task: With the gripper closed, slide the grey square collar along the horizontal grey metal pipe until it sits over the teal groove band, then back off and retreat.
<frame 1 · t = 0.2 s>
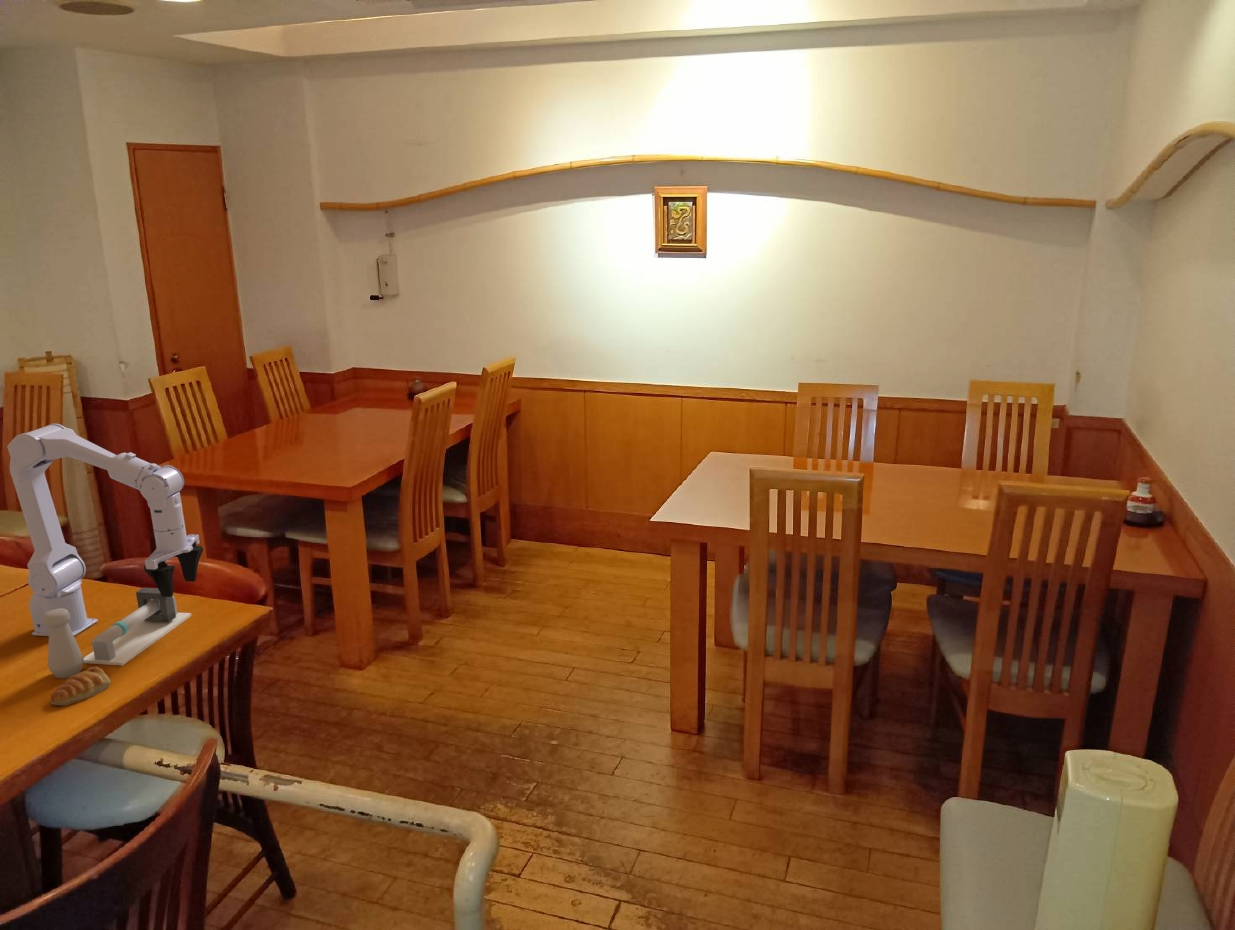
hand: (179, 588, 180), 10 cm above the table, tool pointing down, fingers open, 7 cm apart
pipe rail: (139, 637, 181), on the table
salt shaker: (68, 674, 167), on the table
pastry: (83, 694, 160), on the table
grey square collar: (156, 604, 186), point 4 cm above the table, slide at 0.0 cm
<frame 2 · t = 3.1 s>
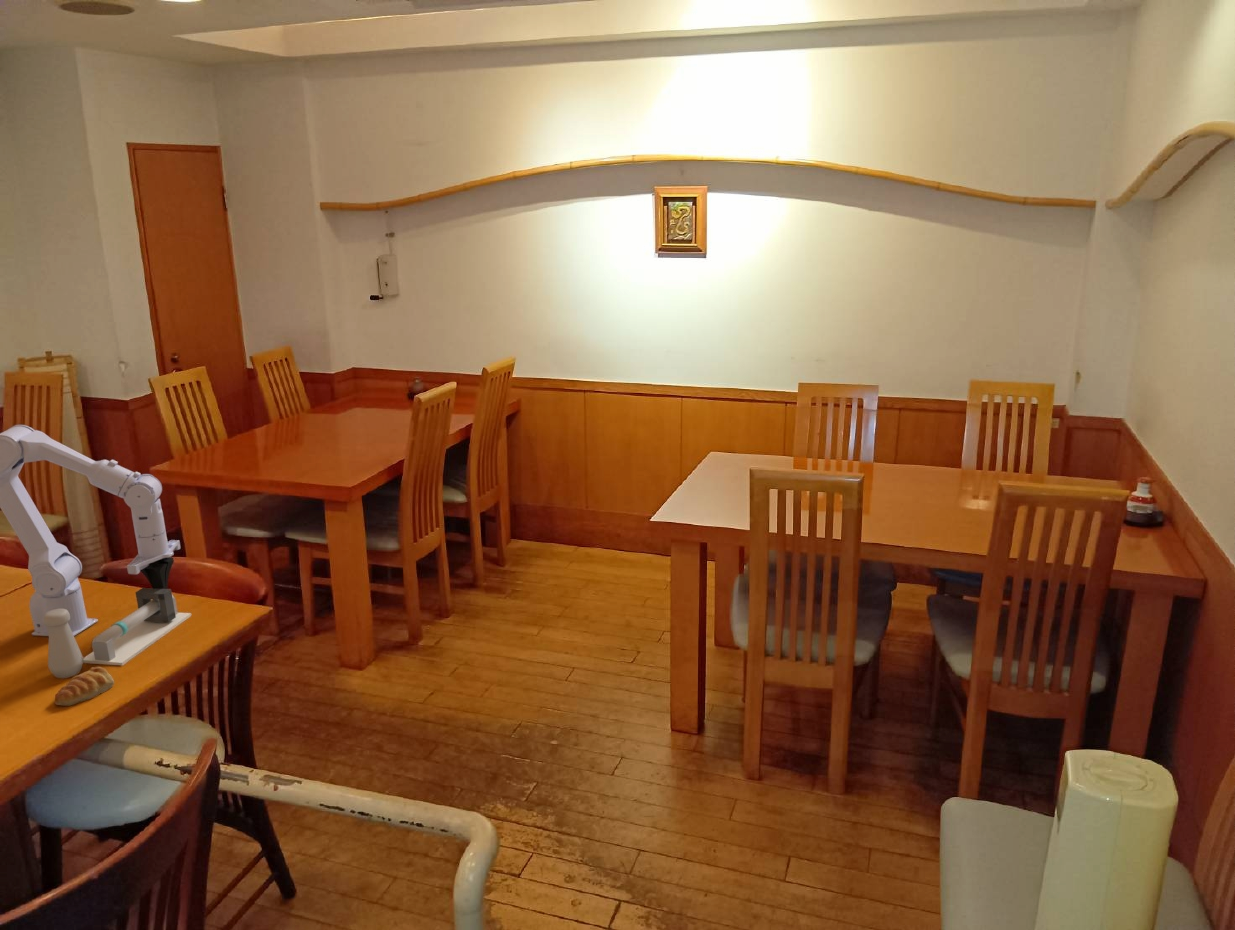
hand: (160, 592, 187), 6 cm above the table, tool pointing down, fingers closed
grey square collar: (155, 604, 186), point 4 cm above the table, slide at 0.1 cm, touching gripper
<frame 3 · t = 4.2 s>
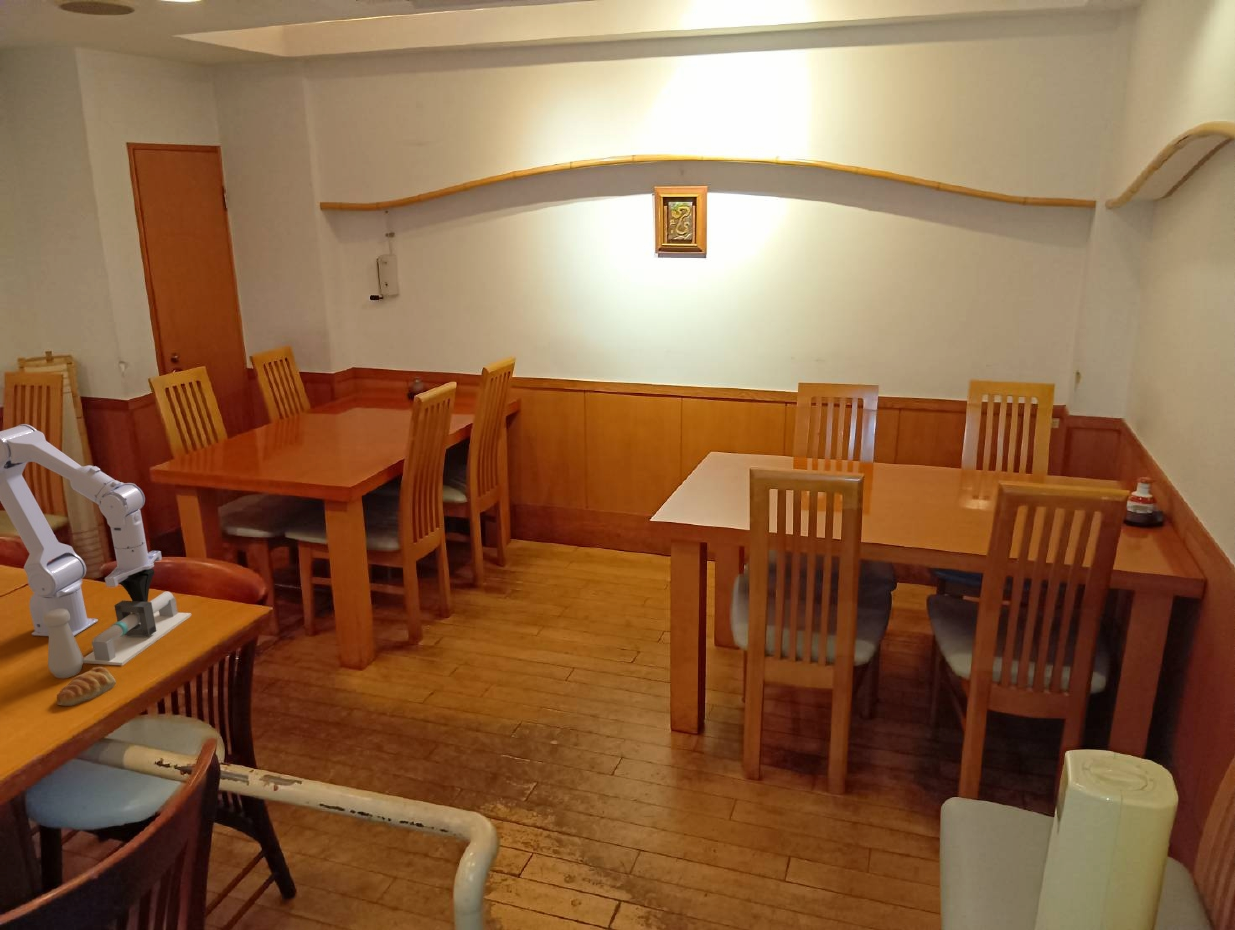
hand: (141, 604, 181), 6 cm above the table, tool pointing down, fingers closed
grey square collar: (135, 618, 179), point 4 cm above the table, slide at 6.5 cm, touching gripper
everything else where it was.
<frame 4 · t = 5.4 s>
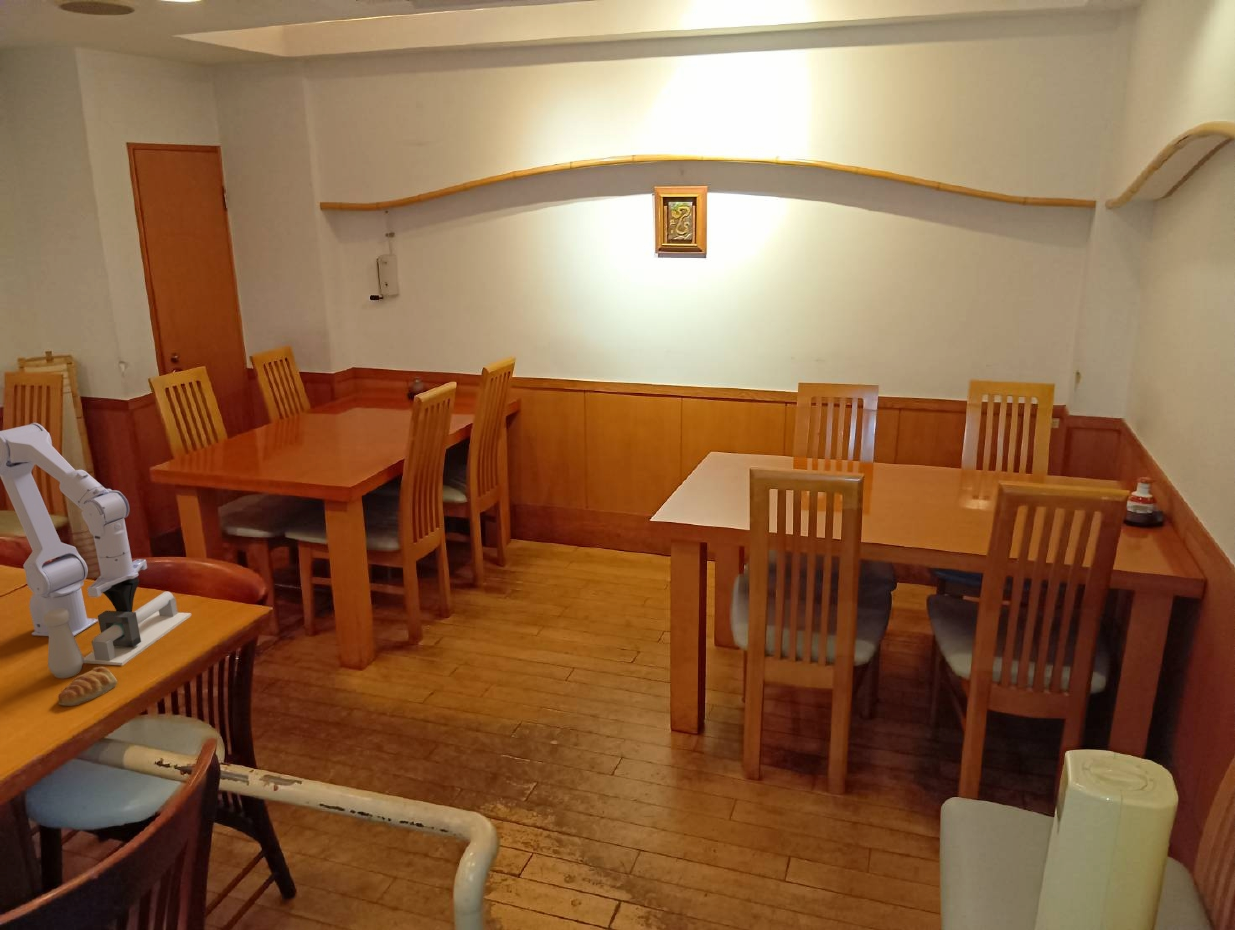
hand: (125, 614, 176), 7 cm above the table, tool pointing down, fingers closed
grey square collar: (119, 628, 175), point 4 cm above the table, slide at 11.3 cm, touching gripper
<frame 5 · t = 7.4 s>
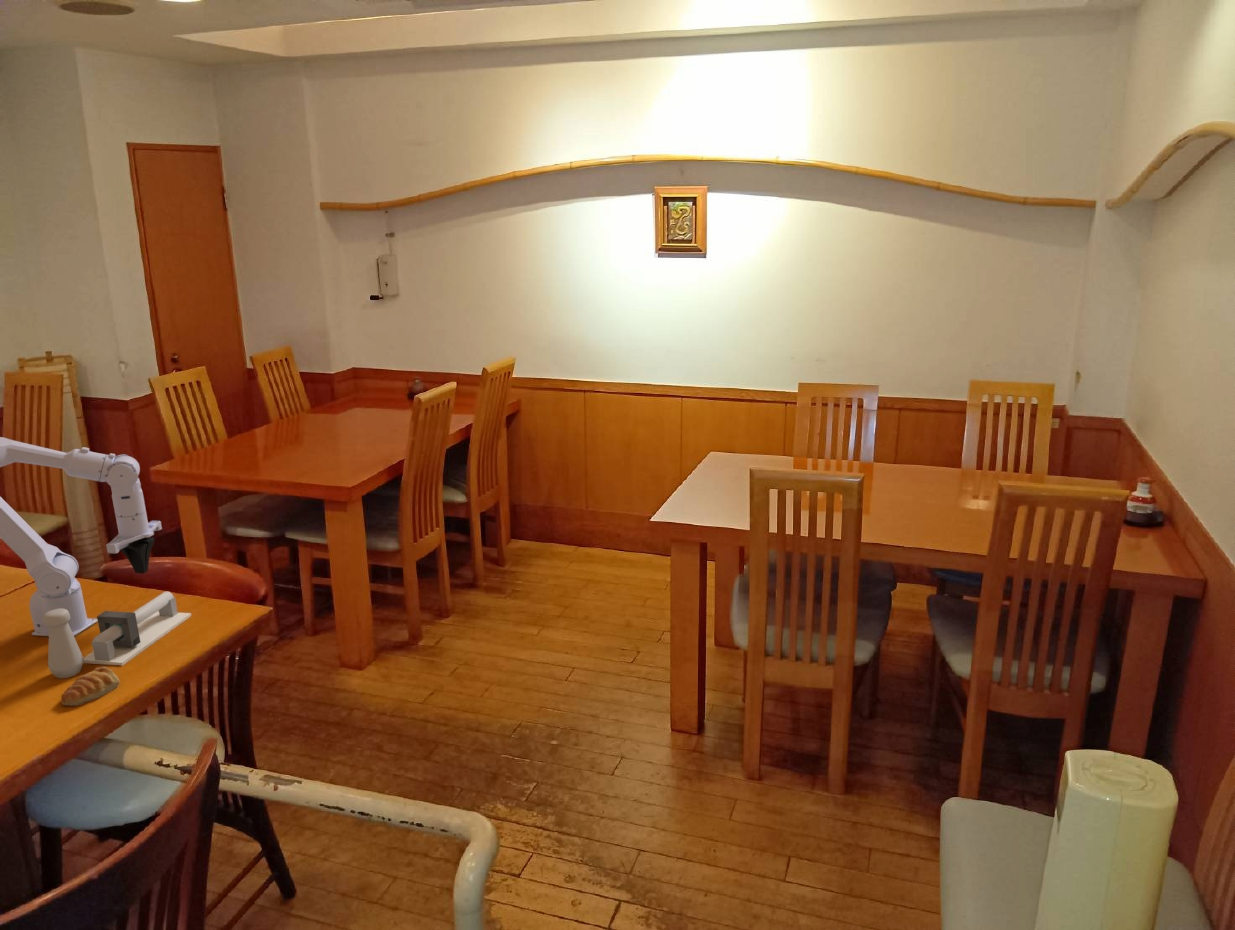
hand: (141, 572, 188), 10 cm above the table, tool pointing down, fingers closed
grey square collar: (118, 629, 175), point 5 cm above the table, slide at 11.5 cm
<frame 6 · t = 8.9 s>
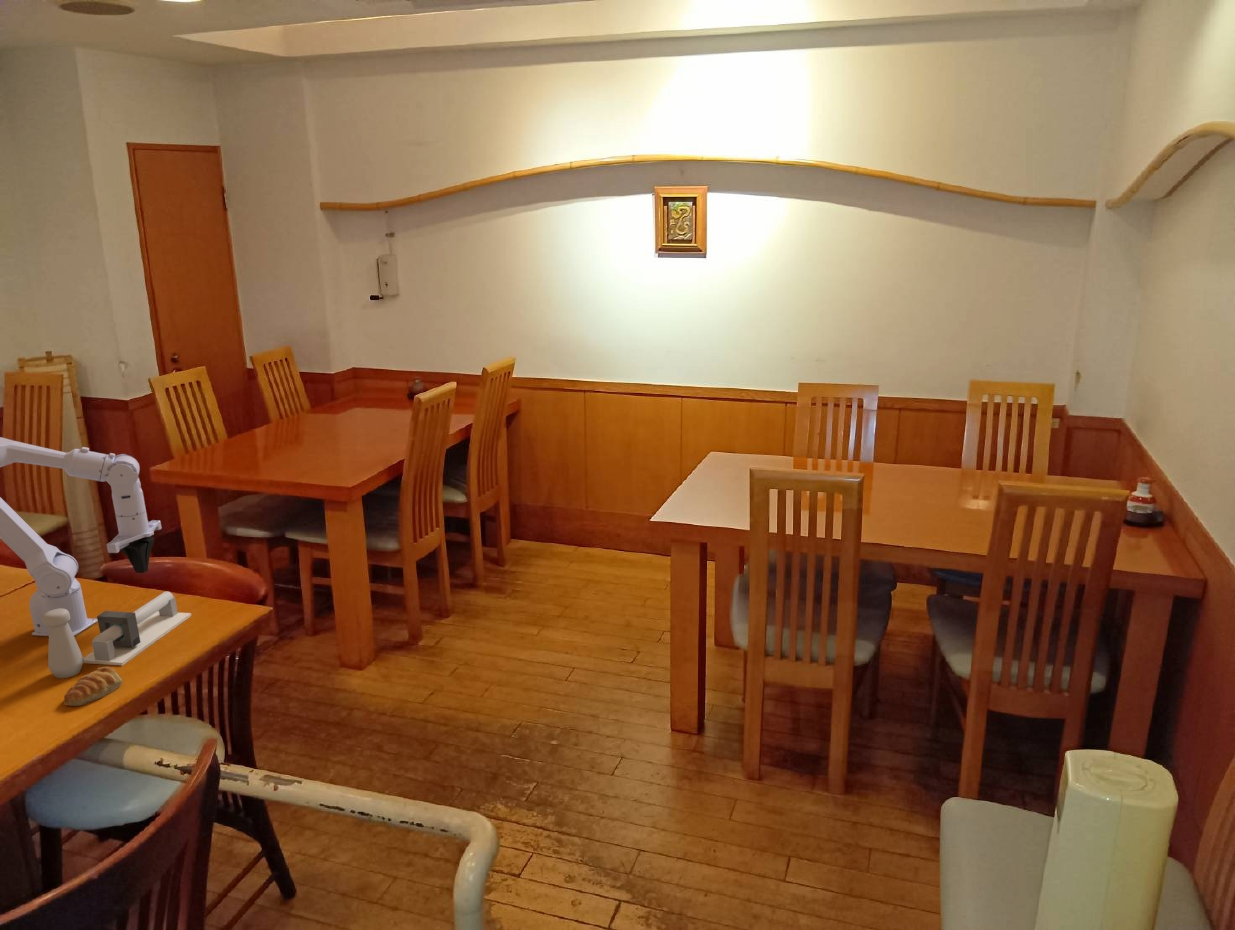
hand: (141, 571, 188), 10 cm above the table, tool pointing down, fingers closed
at the end: grey square collar slide at 11.5 cm; grey square collar touching nothing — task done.
